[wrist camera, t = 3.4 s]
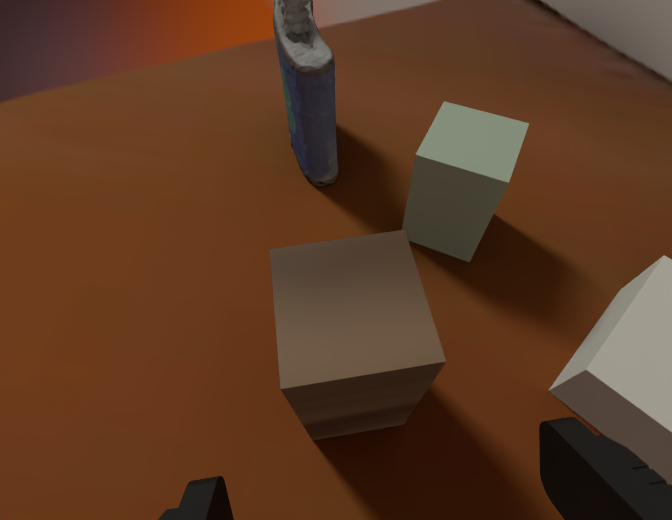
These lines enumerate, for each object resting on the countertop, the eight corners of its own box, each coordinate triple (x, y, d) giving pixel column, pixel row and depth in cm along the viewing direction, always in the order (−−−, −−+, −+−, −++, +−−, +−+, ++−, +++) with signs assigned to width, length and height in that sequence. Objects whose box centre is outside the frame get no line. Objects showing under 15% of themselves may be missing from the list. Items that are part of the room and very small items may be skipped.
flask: (342, 183, 28) (338, 26, 18) (302, 191, 27) (276, 36, 18) (317, 104, 32) (304, -51, 23) (283, 110, 32) (255, -44, 23)
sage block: (469, 262, 24) (508, 182, 18) (400, 237, 25) (415, 154, 19) (488, 210, 26) (529, 123, 20) (423, 189, 27) (444, 101, 21)
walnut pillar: (403, 424, 19) (446, 361, 10) (312, 440, 19) (280, 389, 10) (383, 338, 21) (404, 229, 13) (302, 351, 21) (269, 249, 13)
